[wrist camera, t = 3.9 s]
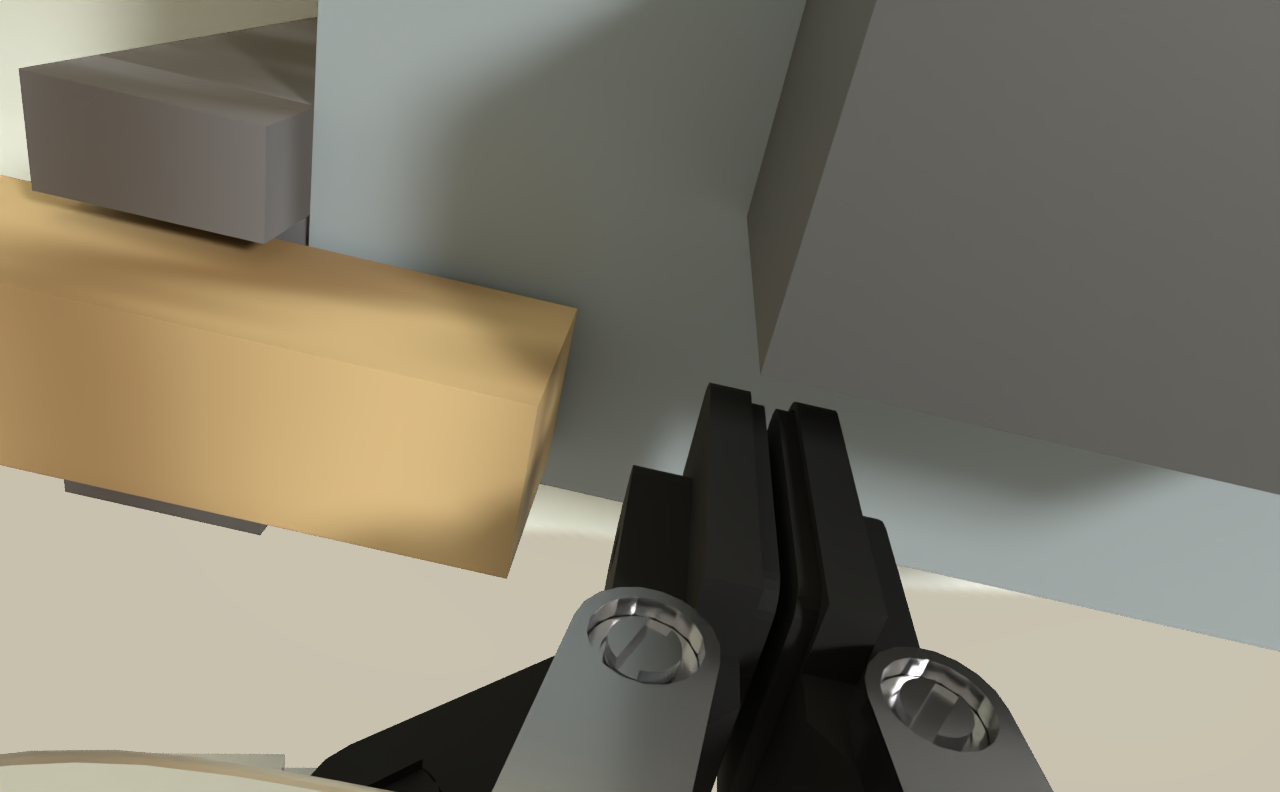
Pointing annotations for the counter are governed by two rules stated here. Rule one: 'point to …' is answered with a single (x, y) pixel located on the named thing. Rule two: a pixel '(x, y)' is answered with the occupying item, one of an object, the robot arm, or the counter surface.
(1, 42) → the counter surface
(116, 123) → the chest
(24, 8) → the counter surface
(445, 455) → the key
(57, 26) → the counter surface
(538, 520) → the counter surface
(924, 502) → the lid
